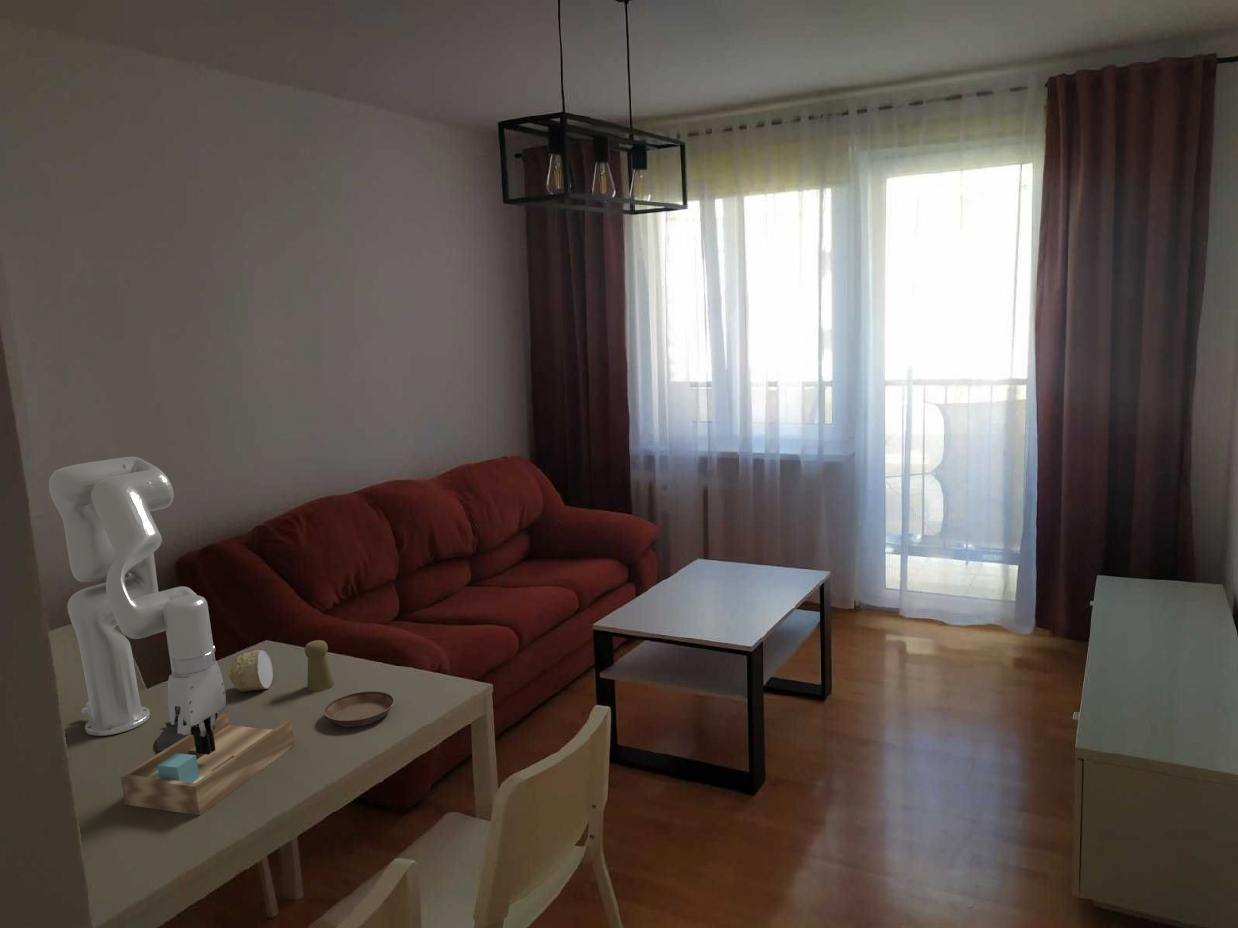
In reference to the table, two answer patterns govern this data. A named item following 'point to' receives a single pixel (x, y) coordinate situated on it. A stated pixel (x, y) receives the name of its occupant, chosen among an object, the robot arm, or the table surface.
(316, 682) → the cork
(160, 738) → the fan shaped piece
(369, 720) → the saucer
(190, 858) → the table surface
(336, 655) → the table surface
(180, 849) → the table surface
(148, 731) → the table surface
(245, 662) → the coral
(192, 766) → the teal block
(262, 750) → the box
